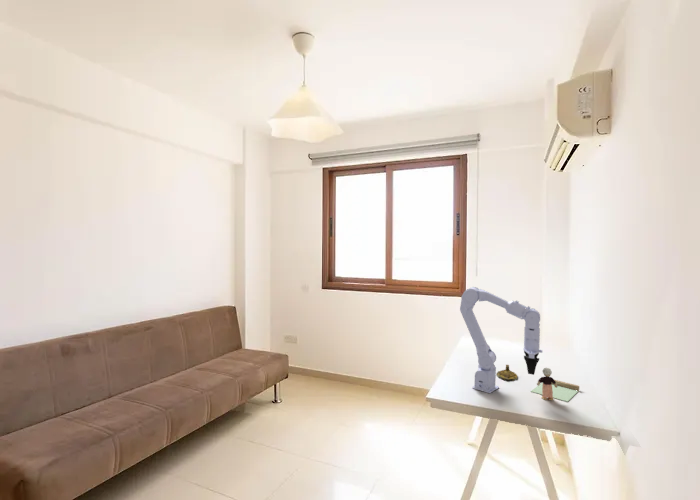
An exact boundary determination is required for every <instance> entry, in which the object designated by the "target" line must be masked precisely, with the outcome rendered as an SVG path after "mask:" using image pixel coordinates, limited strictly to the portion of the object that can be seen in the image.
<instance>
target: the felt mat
mask: <svg viewBox="0 0 700 500" xmlns="http://www.w3.org/2000/svg"><path fill="white" fill-rule="evenodd" d="M542 387H543V383H540V385H539V386H538V385H536V387H534V388H533V389H532V390H530V392H531V393H534V394H537V395H540V396H543V395H542ZM552 391H553V399H556V400H559V401H563V402H565V403H568V402H569V401H571V399H572V398H573V397H575V396H576V394H578V393H579V391H576V390H572V389H569V388H565V387H561V386H558V387H557V388H556V387H555V385H553V384H552Z"/></svg>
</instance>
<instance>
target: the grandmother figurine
mask: <svg viewBox="0 0 700 500" xmlns="http://www.w3.org/2000/svg"><path fill="white" fill-rule="evenodd" d="M542 374H543V375H544V376H541V377H540V378H539V379H538V380H537V383H536V386H539V385H540V384H541V383H543V387H542V395H541V399H542V400H544V401H548V400H549V401H554V398H553V391H552V383H553V384H554V385H555V387H556V388H557V387H558V386H557V384H556V382H555V380H556V379H554V378H553V377H551V375H552V370H551V368H550V367H544V368H543V369H542Z"/></svg>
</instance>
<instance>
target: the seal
mask: <svg viewBox="0 0 700 500" xmlns="http://www.w3.org/2000/svg"><path fill="white" fill-rule="evenodd" d="M496 377H497V378H498V379H500V380H503V381H505V382H508V381H509V382H514V381H517V380H518V379H519V378H518V377H519V376H518V374H517V373H515V372H514V371H512V370H510V365H509V364H505V369H502V370H499V371H496Z"/></svg>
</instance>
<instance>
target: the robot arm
mask: <svg viewBox="0 0 700 500" xmlns="http://www.w3.org/2000/svg"><path fill="white" fill-rule="evenodd" d="M460 297H461V300H460V306H459V311H460V314H461V316H462V319H463V320H464V323H465V325H466V327H467V328H466V329H468V333H469V334H470V337H471V339H472V341H473V344H474V346H475V349H476V350H475V351H476V356H477V362H478V366H477V367H478V368H477V371H476V372H475V373H474V385H473V386H472V389H475V390H478V391H482V392H485V393H487V394H491V393H492V392H494V391H496V390H498V389H499V388H500V386H498V385H496V383H497V381H496V380H497V379H496V377H497V367H496V365H495V362H496V361H497V355H496V353H495V352H494V351H493V350H492V349H491V347H490V345H489V344H488V342H487V340H486V339H485V336H484V334H483V331H482V329H481V327H480V325H479V322H478V320H477V317H476V315H475V313H474V311H473V310H474V307H475V305H476V303H477V302H488V303H491V304H494V305H496V306H498V307H500V308H503V309H505V311H506V313H507V314H509V315H511V316H514V317H516V318H518V319H520V320H524V322H525V323H524V325H525V326H524V330H523V331H524V334H523V337H524V338H523V353H524V355H523V359H524V361H525V364H526V370H527V374H528V375H533V376H534V375H535V373H536V367H537V365H538V363H539V362H540V358H539V357H538V356H539V354H540V353H541V354H542V353H543V349H540V339H541V338H540V335H541V334H540V333H541V332H540V331H541V329H540V325H541V324H540V322H541V313H540V312H539V311H538V310H537V309H536V308H531V306H529V305H528V306H526V305H523V304H522V303H520V301H518V300H510V301H507V300H505V299H503V298H502V297H500V296H498V295H495V294H494V293H491V292H489V291H488V290H485V289H481V288H478V287H476V286H472V287H470V288H468V289H467V288H466V289H465V290H464V291H463V293H462V295H461V296H460Z"/></svg>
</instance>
